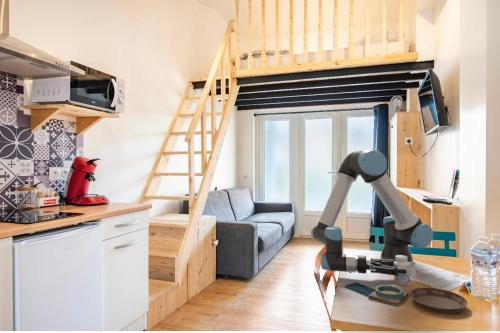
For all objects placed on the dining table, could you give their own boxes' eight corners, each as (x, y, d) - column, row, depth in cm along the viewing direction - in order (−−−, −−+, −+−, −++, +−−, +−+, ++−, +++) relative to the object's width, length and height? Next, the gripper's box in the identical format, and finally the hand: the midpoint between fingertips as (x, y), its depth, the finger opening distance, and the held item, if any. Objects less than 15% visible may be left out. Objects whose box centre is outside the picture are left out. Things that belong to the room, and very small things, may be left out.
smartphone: (356, 284, 136) (356, 281, 136) (387, 295, 123) (387, 293, 123) (343, 287, 132) (343, 285, 132) (373, 300, 119) (373, 297, 119)
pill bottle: (412, 286, 131) (411, 258, 131) (396, 285, 132) (395, 258, 132) (407, 280, 137) (407, 254, 137) (392, 280, 138) (392, 254, 138)
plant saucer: (468, 321, 101) (468, 311, 101) (406, 309, 110) (406, 300, 110) (466, 301, 116) (466, 292, 116) (412, 292, 125) (411, 284, 125)
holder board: (381, 288, 129) (381, 281, 129) (409, 294, 122) (409, 287, 122) (368, 298, 120) (368, 291, 120) (397, 306, 112) (397, 298, 112)
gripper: (358, 265, 151) (411, 269, 143) (355, 280, 131) (417, 286, 123) (357, 249, 151) (411, 253, 143) (355, 262, 131) (417, 266, 123)
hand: (414, 268), depth 133 cm, fingers open, 8 cm apart
